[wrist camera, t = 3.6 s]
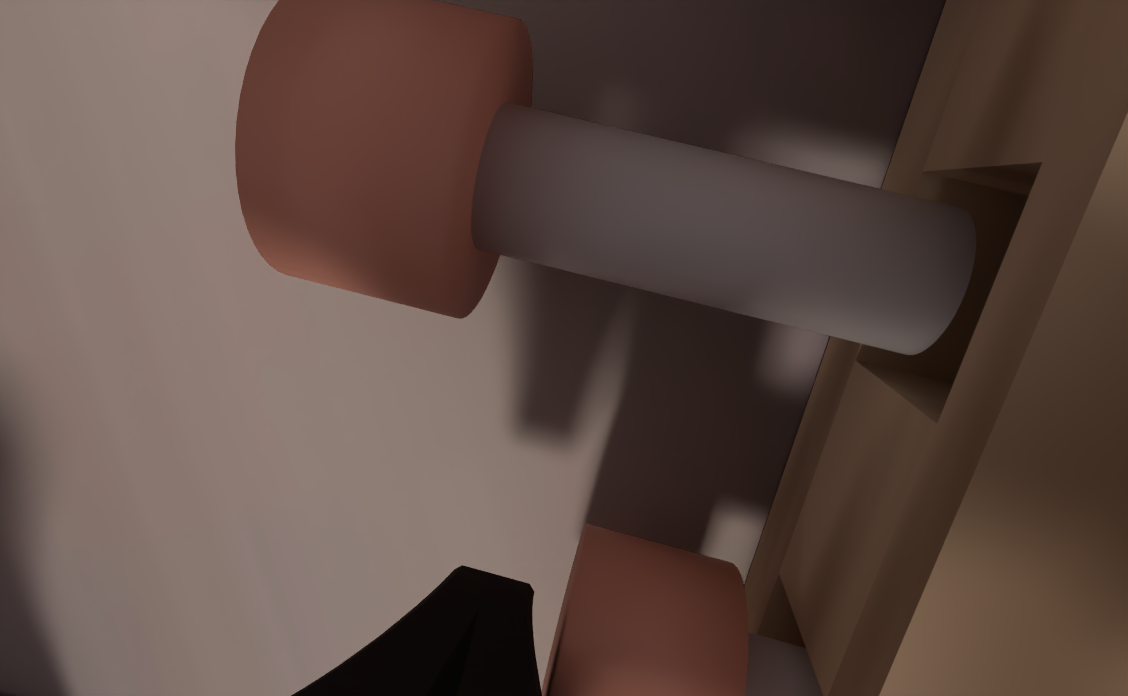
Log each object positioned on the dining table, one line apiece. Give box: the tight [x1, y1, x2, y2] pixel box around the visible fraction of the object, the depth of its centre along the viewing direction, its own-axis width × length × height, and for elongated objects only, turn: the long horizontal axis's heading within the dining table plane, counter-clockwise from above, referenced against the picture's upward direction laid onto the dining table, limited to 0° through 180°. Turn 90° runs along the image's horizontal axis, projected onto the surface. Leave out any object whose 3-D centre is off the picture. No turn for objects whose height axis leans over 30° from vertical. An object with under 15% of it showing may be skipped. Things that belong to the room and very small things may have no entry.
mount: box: [744, 0, 1128, 696], centre depth 9 cm, size 5×22×6 cm, turn 167°
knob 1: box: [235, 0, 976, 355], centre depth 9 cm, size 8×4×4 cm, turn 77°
